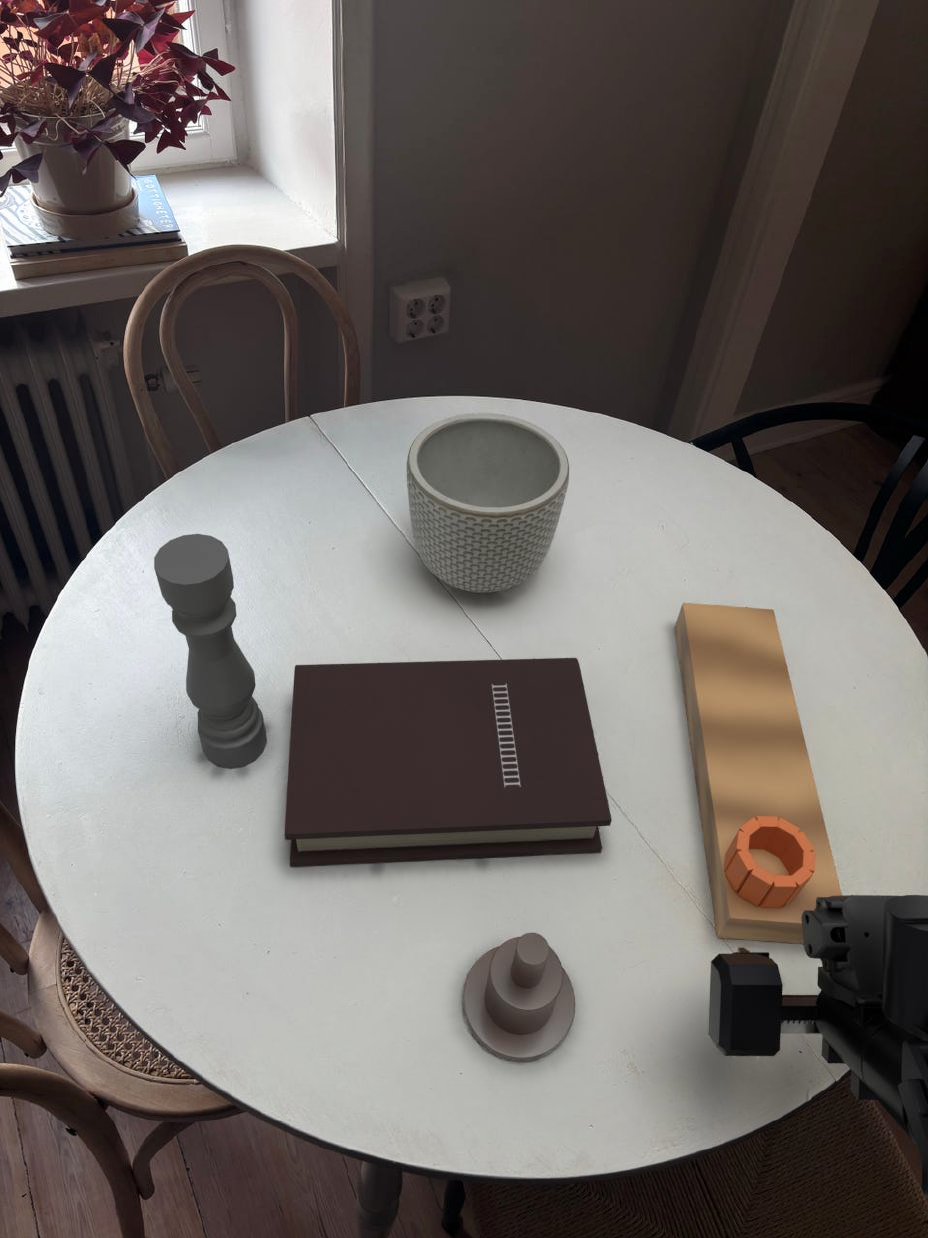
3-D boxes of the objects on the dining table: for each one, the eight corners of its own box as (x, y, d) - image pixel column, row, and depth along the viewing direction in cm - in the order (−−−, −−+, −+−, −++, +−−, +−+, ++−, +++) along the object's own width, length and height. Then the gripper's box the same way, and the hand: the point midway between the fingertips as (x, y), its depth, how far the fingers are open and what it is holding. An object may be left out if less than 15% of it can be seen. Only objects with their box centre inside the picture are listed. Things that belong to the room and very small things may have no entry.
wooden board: (832, 946, 78) (849, 927, 75) (717, 937, 78) (729, 918, 75) (762, 633, 102) (773, 609, 99) (674, 626, 102) (682, 602, 99)
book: (567, 684, 96) (575, 648, 91) (600, 852, 83) (611, 820, 78) (300, 692, 93) (295, 655, 89) (290, 867, 80) (284, 834, 76)
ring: (809, 908, 76) (826, 887, 73) (732, 908, 75) (745, 886, 73) (789, 839, 80) (804, 816, 77) (716, 838, 80) (728, 815, 77)
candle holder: (280, 742, 89) (248, 559, 70) (228, 780, 86) (180, 599, 67) (241, 706, 92) (201, 520, 73) (189, 741, 88) (133, 557, 70)
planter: (526, 640, 99) (543, 532, 88) (382, 595, 103) (379, 486, 91) (569, 542, 110) (589, 434, 99) (437, 504, 114) (442, 396, 102)
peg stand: (596, 1011, 73) (621, 958, 65) (514, 1087, 69) (529, 1041, 61) (521, 927, 78) (536, 867, 69) (440, 994, 73) (445, 939, 65)
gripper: (1067, 930, 54) (922, 851, 69) (759, 928, 53) (682, 848, 69) (1057, 1113, 54) (915, 994, 70) (751, 1113, 53) (677, 993, 69)
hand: (798, 954), depth 69 cm, fingers open, 9 cm apart
